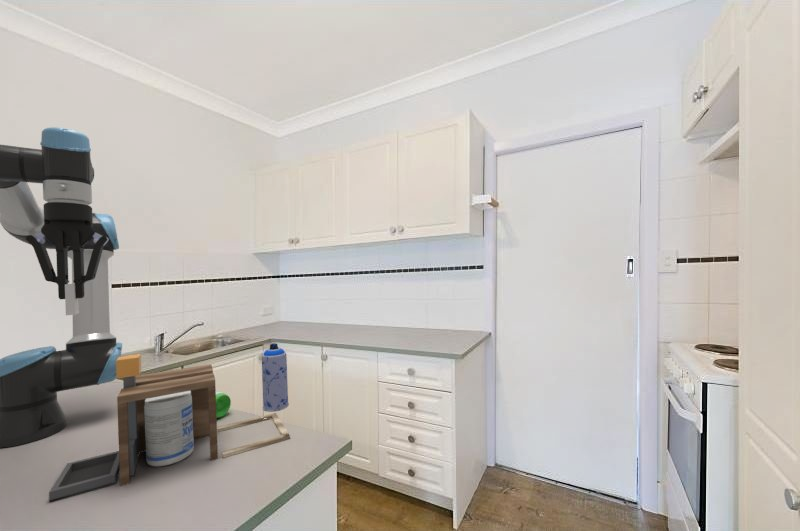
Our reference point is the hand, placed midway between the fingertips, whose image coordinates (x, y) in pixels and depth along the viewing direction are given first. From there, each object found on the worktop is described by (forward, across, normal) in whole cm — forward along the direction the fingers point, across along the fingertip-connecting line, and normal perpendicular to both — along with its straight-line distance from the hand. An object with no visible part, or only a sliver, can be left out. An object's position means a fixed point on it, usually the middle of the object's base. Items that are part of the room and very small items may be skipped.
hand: (72, 314), depth 74 cm
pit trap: (+36, +2, 0) cm, 36 cm away
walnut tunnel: (+36, +17, 0) cm, 40 cm away
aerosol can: (+36, +44, +16) cm, 59 cm away
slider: (+36, +9, 0) cm, 37 cm away
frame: (+36, +35, 0) cm, 50 cm away
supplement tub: (+36, +16, 0) cm, 40 cm away
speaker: (+36, +24, +24) cm, 50 cm away
